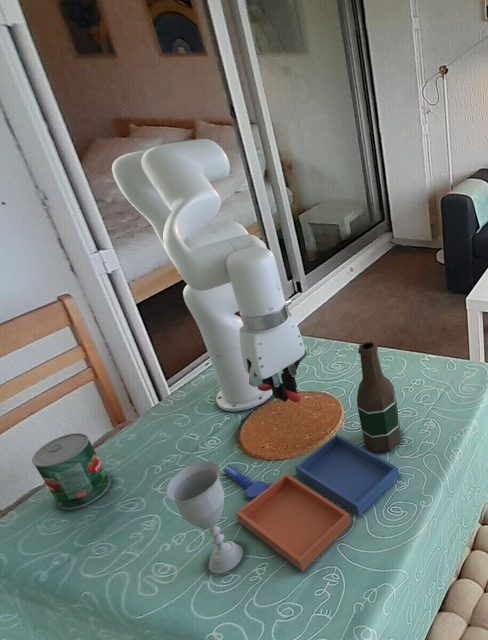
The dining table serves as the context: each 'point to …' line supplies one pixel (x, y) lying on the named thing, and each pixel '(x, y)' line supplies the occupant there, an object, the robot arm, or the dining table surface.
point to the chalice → (205, 509)
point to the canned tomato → (72, 470)
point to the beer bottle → (376, 403)
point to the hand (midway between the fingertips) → (286, 395)
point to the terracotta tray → (294, 520)
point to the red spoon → (290, 394)
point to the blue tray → (347, 473)
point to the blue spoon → (246, 482)
